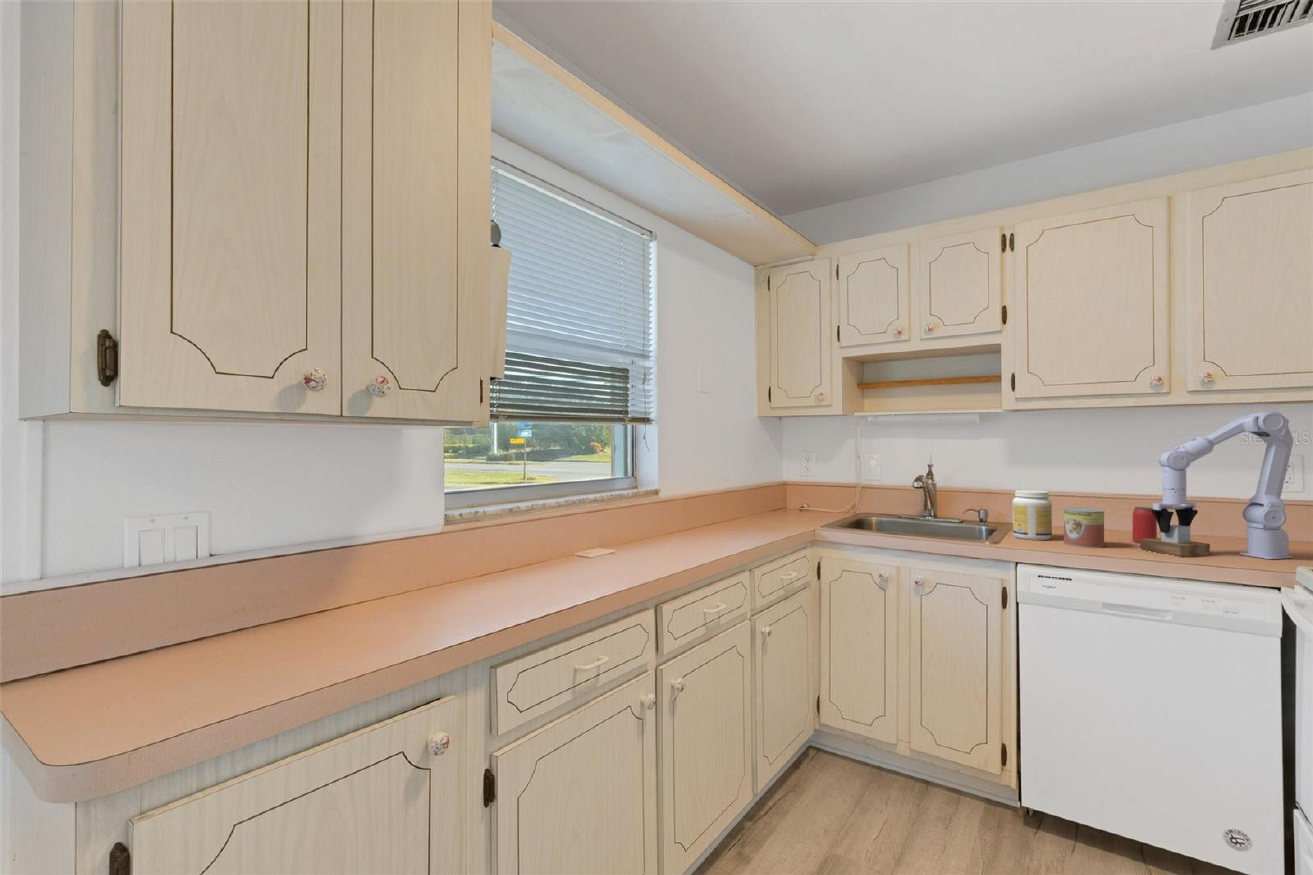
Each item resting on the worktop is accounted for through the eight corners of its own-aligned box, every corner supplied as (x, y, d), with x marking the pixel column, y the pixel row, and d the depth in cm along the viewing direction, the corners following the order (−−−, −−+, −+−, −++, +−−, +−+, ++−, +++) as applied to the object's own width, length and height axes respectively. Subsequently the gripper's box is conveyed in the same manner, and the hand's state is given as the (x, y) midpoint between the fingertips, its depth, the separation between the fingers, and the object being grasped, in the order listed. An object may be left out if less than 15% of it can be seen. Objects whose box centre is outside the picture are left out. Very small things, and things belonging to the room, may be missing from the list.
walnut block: (1168, 549, 200) (1168, 537, 200) (1209, 556, 189) (1209, 543, 189) (1140, 551, 197) (1140, 539, 197) (1180, 558, 186) (1180, 545, 186)
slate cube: (1173, 540, 195) (1173, 524, 195) (1190, 542, 191) (1190, 526, 191) (1161, 540, 194) (1161, 525, 194) (1177, 543, 189) (1177, 527, 189)
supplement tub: (1050, 536, 223) (1050, 490, 223) (1053, 541, 213) (1053, 493, 213) (1011, 534, 229) (1011, 489, 229) (1013, 539, 218) (1013, 491, 218)
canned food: (1056, 543, 210) (1056, 508, 210) (1077, 541, 214) (1077, 507, 214) (1090, 549, 199) (1090, 512, 199) (1112, 546, 204) (1112, 510, 204)
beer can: (1161, 544, 207) (1161, 509, 207) (1139, 544, 208) (1139, 508, 208) (1149, 541, 213) (1149, 507, 213) (1128, 540, 215) (1128, 506, 214)
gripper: (1169, 490, 187) (1168, 535, 187) (1206, 489, 190) (1206, 533, 191) (1146, 488, 194) (1146, 531, 194) (1182, 487, 197) (1182, 530, 197)
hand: (1174, 532), depth 193 cm, fingers open, 7 cm apart
